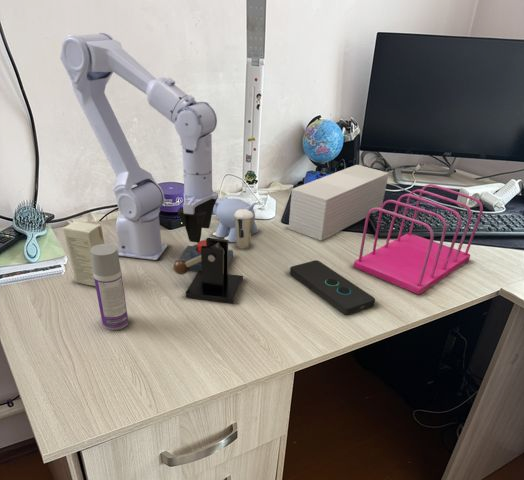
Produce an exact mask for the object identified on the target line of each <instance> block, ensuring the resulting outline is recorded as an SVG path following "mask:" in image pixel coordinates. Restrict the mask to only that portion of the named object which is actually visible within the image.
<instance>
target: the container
mask: <svg viewBox="0 0 524 480" xmlns="http://www.w3.org/2000/svg"><path fill="white" fill-rule="evenodd" d="M118 253H119V250H118V246H116V245H114V244H111V243H104V244H99V245H95V246H93V247H92V248H91V249H90V255H91V261H92V268H93V275H94V281H95V286H94V287H95V290H96V291H95V292H96V296H97V301H98V307H99V312H100V319H101V323H102V326H103V328H104V329H106V330H109V331H117V330H121V329H124V328H125V327H127V326H128V324H129V317H128V310H127V309H128V308H127V303H126V302H127V301H126V296H125V295H126V294H125V288H124V287H125V286H124V280H123V274H122V268H121V263H120V257H119V255H118Z"/></svg>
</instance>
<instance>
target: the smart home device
mask: <svg viewBox="0 0 524 480" xmlns="http://www.w3.org/2000/svg"><path fill="white" fill-rule="evenodd" d="M289 274H290V276H291V277H293V278H294V279H295V280H297V281H298V282H300V283H301V284H303V285H304V286H305V287H306V288H307V289H309V290H310V291H312V292H313V293H315V294H316V295H317V296H318V297H320V298H321V299H322V300H324V301H325V302H327V303H328V304H329V305H331V306H332V307H333V308H335V309H336V310H337V311H339V312H340V313H341V314H343V315H345V316H350V315H352V314H356V313H359V312H361V311H364V310H367V309H370V308H373V307H375V302H376V298H375V297H374V296H372V294H369V293H368V292H367V291H365V290H363V289H362V288H360V287H359V286H357V285H356V284H354V283H353V282H351V281H350V280H349V279H347V278H345V277H344V276H343V275H341V274H339V273H338V272H337V271H335V270H333V269H332V268H330V266H327V265H326V264H324V263H323V262H321V261H320V260H317V259H315V260H311V261H308V262H304V263H303V262H302V263H299V264H296V265H291V266H290V268H289Z"/></svg>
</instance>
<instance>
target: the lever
mask: <svg viewBox="0 0 524 480" xmlns="http://www.w3.org/2000/svg"><path fill="white" fill-rule="evenodd" d="M209 247H217V248H222V246H221V245H220V243H219V242H218V243H216V244H214V245H212V246H209ZM224 253H225V251H224ZM178 259H179V258H178ZM178 259H177V260H175V261H174V263H173V266H172V268H173V271H174V273H175V274H177V275H179V276H183V275H186V274H187V273H188V272H189V270H188V269H189V267H190V266H192V265H194V264H197V263H199V262H201V255H199V256H197V257H195V258H193V259H190V260H188V261H185V260H183V259H179V260H178Z"/></svg>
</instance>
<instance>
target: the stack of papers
mask: <svg viewBox="0 0 524 480" xmlns="http://www.w3.org/2000/svg"><path fill="white" fill-rule="evenodd" d="M389 174H390V172H387V171H383V170H379V169H375V168H372V167H367V166H364V165H361V164H355V165H352V166H350V167H346V168H344V169H341V170H338V171H336V172H334V173H330V174H328V175H325V176H322V177H320V178H317V179H314V180H312V181H309V182H307V183H304V184H301V185H298V186H296V187H293V188H291V194H290V195H291V196H290V205H289V207H290V208H289V218H288V220H289V222H288V227H287V228H288V230H291V231H294V232H297V233H299V234H302V235H304V236H307V237H310V238H312V239H316V240H318V241H320V242H321V241H324V240H326V239H327V238H329V237H331V236H333V235H335V234H337V233H339V232H341V231H343V230H345V229H346V228H348V227H350V226H352V225H354V224H356V223H358V222H360V221H362V220H364V219H366V216H367V214H368V212H369V211H370V210H371V209H373V208H381V206H382V204H383V203H384V200H385V193H386V189H387V184H388V178H389ZM377 212H378V211H377V210H376V211H373V212H372V213H373V214H376V213H377Z"/></svg>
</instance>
